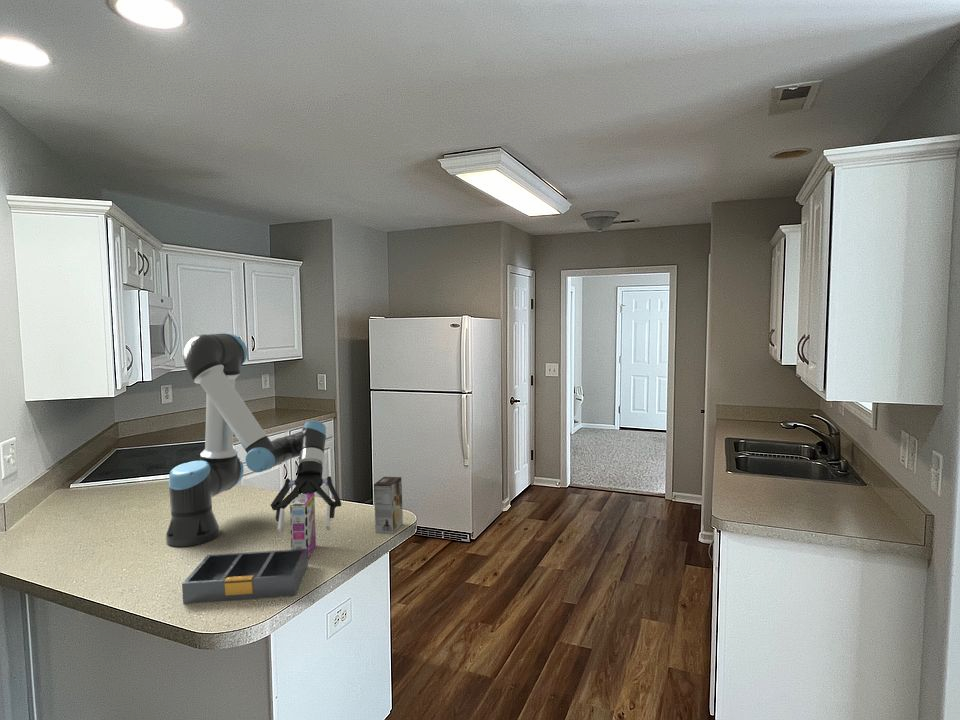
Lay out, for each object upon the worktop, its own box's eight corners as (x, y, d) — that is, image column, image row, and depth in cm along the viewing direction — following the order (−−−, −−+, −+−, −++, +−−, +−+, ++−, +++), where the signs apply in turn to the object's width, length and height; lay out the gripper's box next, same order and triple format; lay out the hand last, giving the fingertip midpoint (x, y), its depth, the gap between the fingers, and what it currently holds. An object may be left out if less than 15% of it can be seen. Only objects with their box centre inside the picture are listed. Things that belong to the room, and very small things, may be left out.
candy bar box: (309, 560, 161) (306, 504, 160) (291, 561, 161) (288, 505, 159) (317, 545, 172) (315, 492, 171) (300, 545, 172) (298, 493, 171)
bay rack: (182, 604, 137) (181, 583, 137) (208, 572, 154) (207, 553, 154) (294, 596, 140) (293, 575, 140) (308, 566, 157) (307, 547, 157)
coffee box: (385, 522, 190) (383, 475, 189) (403, 523, 189) (402, 476, 188) (374, 532, 181) (373, 483, 180) (393, 534, 180) (392, 484, 179)
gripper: (352, 469, 182) (348, 532, 168) (272, 473, 179) (262, 537, 166) (349, 457, 177) (346, 521, 163) (267, 461, 174) (256, 526, 160)
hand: (303, 529), depth 164 cm, fingers open, 13 cm apart
